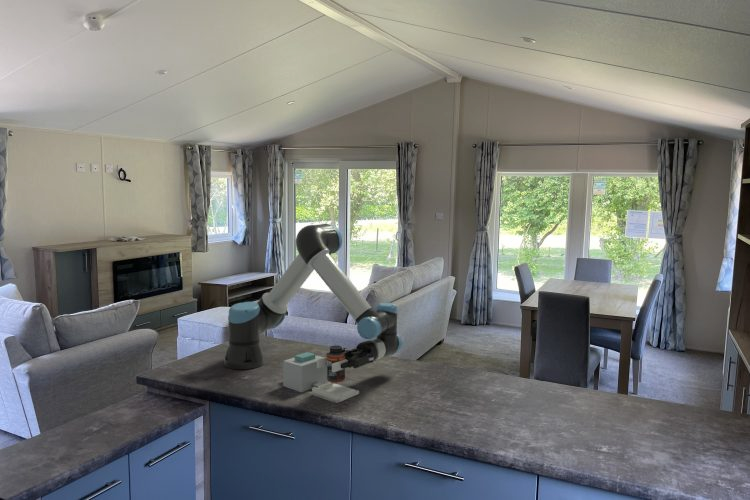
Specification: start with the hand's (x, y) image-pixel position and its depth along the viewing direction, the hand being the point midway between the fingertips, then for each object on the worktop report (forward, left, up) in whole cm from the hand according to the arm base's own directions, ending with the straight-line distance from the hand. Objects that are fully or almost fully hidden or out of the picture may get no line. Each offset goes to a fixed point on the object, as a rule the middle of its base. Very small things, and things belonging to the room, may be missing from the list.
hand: (325, 366), depth 173 cm
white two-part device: (-6, +8, -11) cm, 15 cm away
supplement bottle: (+2, +5, -6) cm, 8 cm away
